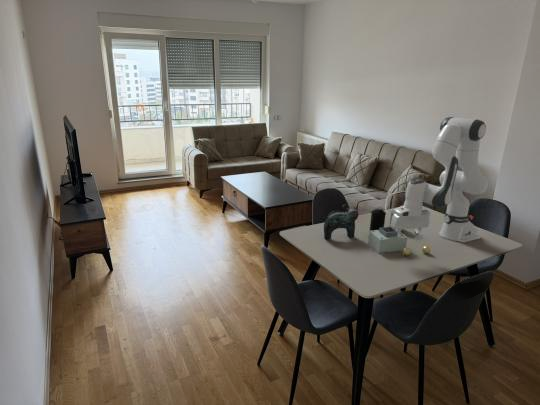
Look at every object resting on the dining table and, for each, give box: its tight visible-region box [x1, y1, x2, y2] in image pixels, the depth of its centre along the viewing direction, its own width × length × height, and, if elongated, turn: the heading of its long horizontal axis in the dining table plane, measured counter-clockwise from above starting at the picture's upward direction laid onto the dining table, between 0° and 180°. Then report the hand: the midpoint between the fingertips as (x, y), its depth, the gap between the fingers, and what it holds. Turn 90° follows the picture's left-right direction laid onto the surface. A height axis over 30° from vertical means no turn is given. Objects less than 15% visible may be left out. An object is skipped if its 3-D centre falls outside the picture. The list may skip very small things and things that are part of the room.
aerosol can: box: [367, 204, 387, 238], centre depth 214 cm, size 8×8×20 cm
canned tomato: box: [388, 209, 395, 227], centre depth 229 cm, size 8×8×11 cm
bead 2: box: [421, 245, 431, 255], centre depth 199 cm, size 4×4×4 cm
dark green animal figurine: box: [323, 204, 359, 241], centre depth 214 cm, size 20×6×20 cm, turn 104°
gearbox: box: [367, 226, 408, 254], centre depth 205 cm, size 16×12×10 cm
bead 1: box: [401, 247, 411, 257], centre depth 197 cm, size 4×4×4 cm
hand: (408, 235), depth 193 cm, fingers open, 8 cm apart
